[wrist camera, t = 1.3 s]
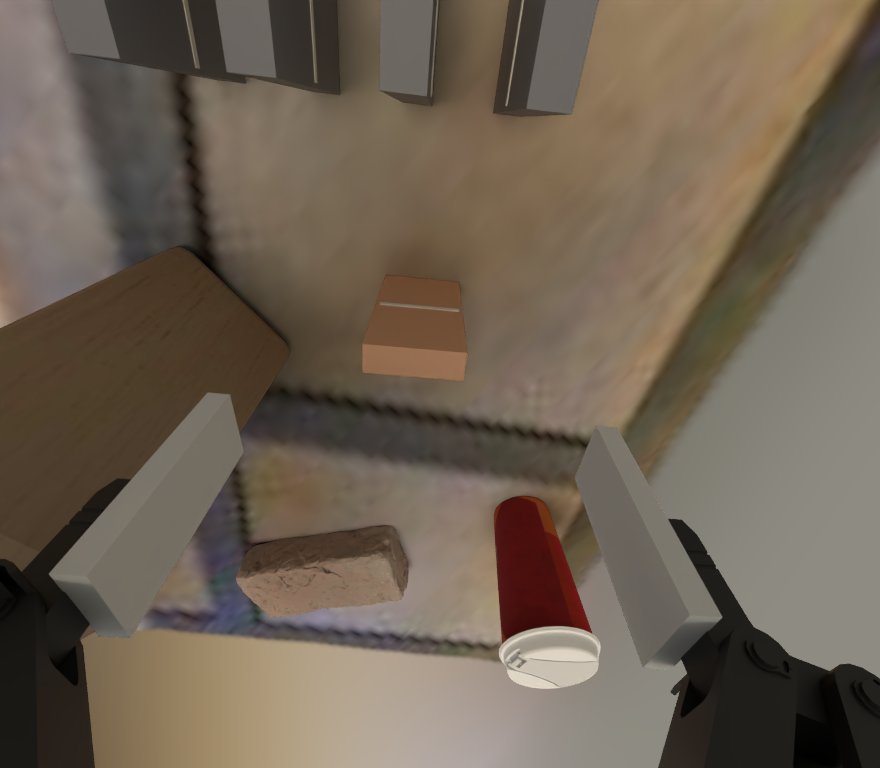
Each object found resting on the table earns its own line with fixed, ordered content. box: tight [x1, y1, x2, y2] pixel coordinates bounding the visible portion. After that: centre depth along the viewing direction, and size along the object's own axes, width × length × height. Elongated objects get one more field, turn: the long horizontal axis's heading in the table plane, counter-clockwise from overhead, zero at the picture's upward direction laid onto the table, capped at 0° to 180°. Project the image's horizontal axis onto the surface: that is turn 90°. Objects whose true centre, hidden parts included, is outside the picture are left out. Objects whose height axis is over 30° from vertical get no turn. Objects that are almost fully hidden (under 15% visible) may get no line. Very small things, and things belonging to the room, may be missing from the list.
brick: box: [236, 526, 409, 617], centre depth 43 cm, size 17×8×5 cm, turn 102°
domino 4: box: [493, 0, 599, 117], centre depth 16 cm, size 2×5×10 cm, turn 174°
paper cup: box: [494, 496, 601, 689], centre depth 35 cm, size 8×8×14 cm
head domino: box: [362, 275, 468, 381], centre depth 23 cm, size 2×5×10 cm, turn 84°
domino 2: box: [215, 0, 340, 95], centre depth 16 cm, size 2×5×10 cm, turn 174°
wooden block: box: [0, 247, 290, 640], centre depth 21 cm, size 10×10×20 cm
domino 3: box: [380, 0, 440, 106], centre depth 16 cm, size 2×5×10 cm, turn 175°
